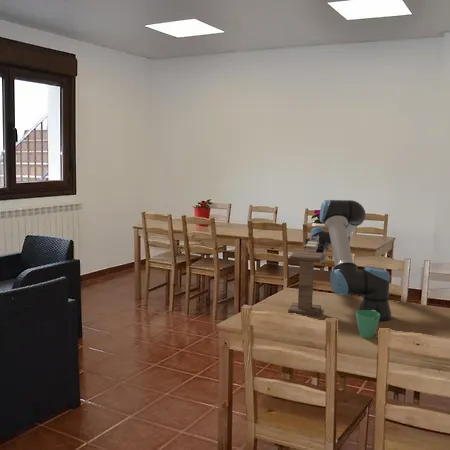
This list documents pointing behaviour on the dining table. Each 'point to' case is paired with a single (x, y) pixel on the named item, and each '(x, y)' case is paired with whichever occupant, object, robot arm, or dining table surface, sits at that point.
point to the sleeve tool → (312, 245)
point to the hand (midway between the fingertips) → (314, 237)
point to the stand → (306, 283)
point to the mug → (367, 322)
